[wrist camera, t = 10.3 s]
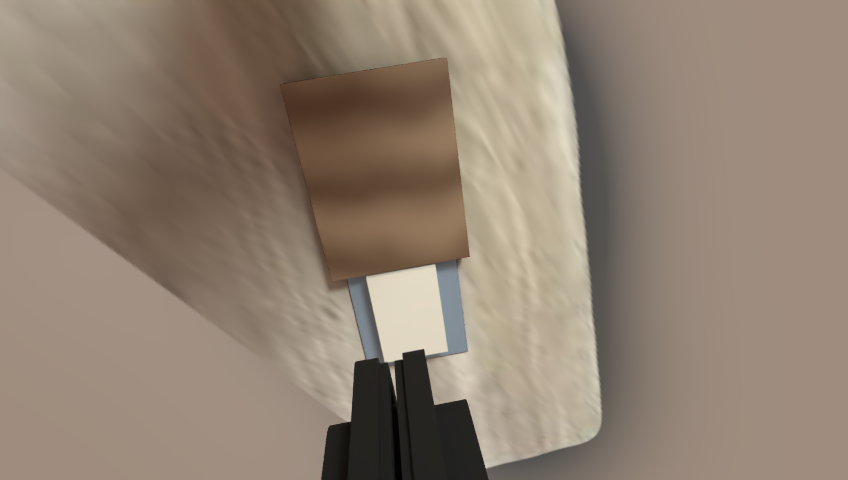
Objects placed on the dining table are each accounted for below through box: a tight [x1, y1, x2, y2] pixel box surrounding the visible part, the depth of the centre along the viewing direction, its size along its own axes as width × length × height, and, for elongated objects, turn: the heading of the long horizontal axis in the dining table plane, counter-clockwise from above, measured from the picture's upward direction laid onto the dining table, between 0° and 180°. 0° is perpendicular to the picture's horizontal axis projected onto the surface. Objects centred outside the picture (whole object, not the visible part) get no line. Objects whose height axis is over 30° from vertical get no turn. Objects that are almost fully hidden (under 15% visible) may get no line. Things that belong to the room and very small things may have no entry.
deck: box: [280, 58, 470, 281], centre depth 35 cm, size 16×12×2 cm
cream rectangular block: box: [366, 263, 448, 362], centre depth 40 cm, size 9×6×2 cm, turn 8°
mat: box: [347, 259, 468, 366], centre depth 41 cm, size 11×10×1 cm
